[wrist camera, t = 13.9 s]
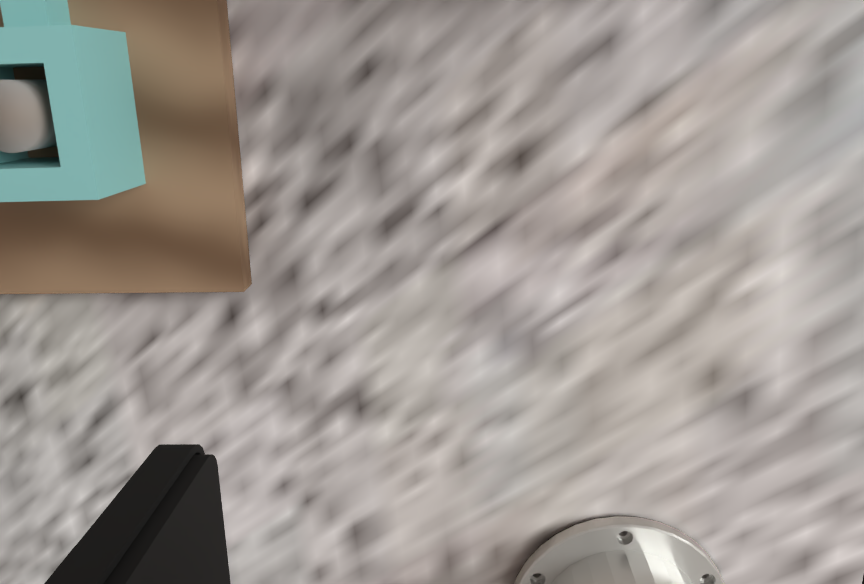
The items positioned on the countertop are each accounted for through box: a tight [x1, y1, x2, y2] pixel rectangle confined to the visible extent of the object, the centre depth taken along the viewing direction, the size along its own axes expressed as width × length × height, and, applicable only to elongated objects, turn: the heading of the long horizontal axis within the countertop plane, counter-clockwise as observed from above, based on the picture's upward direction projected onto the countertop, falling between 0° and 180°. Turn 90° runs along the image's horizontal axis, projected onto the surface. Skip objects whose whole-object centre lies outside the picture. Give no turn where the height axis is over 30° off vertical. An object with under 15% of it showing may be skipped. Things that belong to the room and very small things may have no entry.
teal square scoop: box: [0, 0, 146, 202], centre depth 32 cm, size 13×7×5 cm, turn 2°
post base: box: [0, 0, 252, 294], centre depth 34 cm, size 18×16×6 cm
